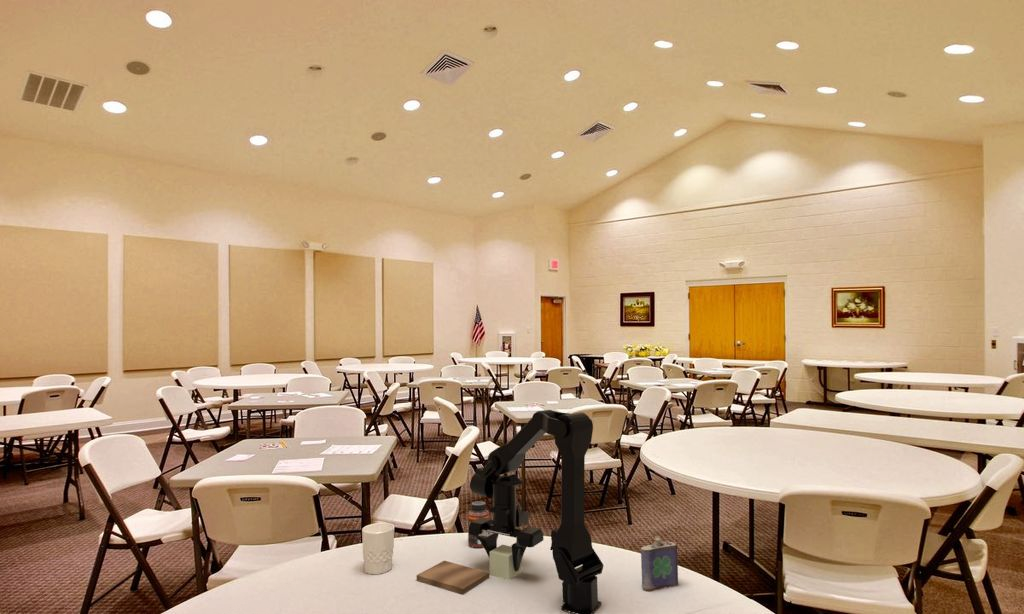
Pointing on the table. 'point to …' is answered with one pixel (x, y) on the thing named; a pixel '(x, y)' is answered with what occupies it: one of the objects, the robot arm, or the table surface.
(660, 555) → the flask
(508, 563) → the sage cube
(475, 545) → the supplement bottle
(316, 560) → the table surface
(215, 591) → the table surface
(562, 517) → the robot arm
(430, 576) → the walnut board
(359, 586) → the table surface
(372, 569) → the white cup
